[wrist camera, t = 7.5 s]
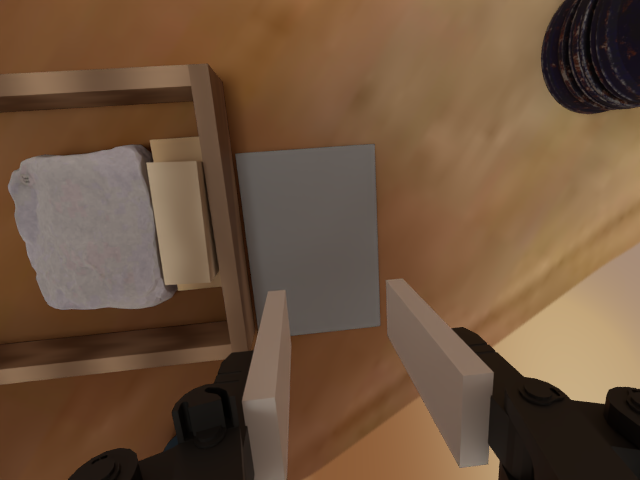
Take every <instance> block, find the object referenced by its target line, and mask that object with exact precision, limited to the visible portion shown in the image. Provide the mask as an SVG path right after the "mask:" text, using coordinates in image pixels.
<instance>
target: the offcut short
mask: <svg viewBox="0 0 640 480" xmlns="http://www.w3.org/2000/svg"><path fill="white" fill-rule="evenodd" d="M146 164H147V170H148V177H149V183H150V190H151V197H152V203H153V210H154V216H155V223H156V230H157V236H158V243H159V249H160V256H161V262H162V269H163V276H164V282H165V285H176V284H193V283H210V282H211V281H212V280H213V279H214V277H215V276H216V275H217V273H218V272H219V264H218V258H217V251H216V245H215V238H214V232H213V225H212V219H211V212H210V206H209V199H208V193H207V186H206V180H205V173H204V167H203V162H200V161H184V162H151V163H146Z"/></svg>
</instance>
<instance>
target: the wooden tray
mask: <svg viewBox="0 0 640 480" xmlns="http://www.w3.org/2000/svg"><path fill="white" fill-rule="evenodd" d="M185 101H193V102H194V108H195V115H196V121H197V128H198V134H199V141H200V147H201V154H202V160H203V167H204V173H205V180H206V186H207V193H208V199H209V206H210V212H211V219H212V225H213V232H214V238H215V245H216V251H217V258H218V264H219V271H220V277H221V284H222V290H223V297H224V303H225V310H226V316H227V321H220V322H211V323H201V324H192V325H182V326H173V327H163V328H154V329H144V330H135V331H125V332H115V333H106V334H96V335H87V336H77V337H68V338H58V339H49V340H39V341H30V342H20V343H11V344H1V345H0V385H1V384H10V383H19V382H28V381H37V380H46V379H55V378H63V377H72V376H81V375H90V374H99V373H108V372H117V371H126V370H134V369H143V368H152V367H161V366H170V365H179V364H188V363H197V362H205V361H214V360H223V359H226V358H227V357H228V356H229V355H230V354H231V353H233V352H242V351H250V350H251V346H252V341H253V337H254V333H255V325H254V318H253V310H252V303H251V295H250V287H249V280H248V272H247V265H246V257H245V250H244V242H243V235H242V227H241V220H240V212H239V204H238V197H237V189H236V182H235V174H234V167H233V159H232V152H231V144H230V136H229V129H228V121H227V114H226V106H225V99H224V91H223V84H222V81H221V80H220V78H219V77H218V76H217V75H216V73H215V72H214V71H213V70H212V68H211V67H210V66H209V65H208V64H192V65H172V66H153V67H134V68H114V69H95V70H76V71H56V72H37V73H18V74H0V112H16V111H33V110H49V109H66V108H83V107H100V106H117V105H134V104H151V103H168V102H185Z"/></svg>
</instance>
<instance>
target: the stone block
mask: <svg viewBox="0 0 640 480" xmlns="http://www.w3.org/2000/svg"><path fill="white" fill-rule="evenodd" d="M151 162H154V161H153V156H152V153H151V152H150V151H148V150H147V149H146V148H145V147H143V146H142V145H126V146H120V147H115V148H113V149H111V150H101V151H99V152H93V153H87V154H78V155H66V156H57V155H41V156H36V157H32V158H29V159H26V160H24V161H22V162H21V165H20V168H19V169H18V170H15V171H13V173H12V176H11V180H10V182H9V185H8V189H9V192H10V194H11V196H12V198H13V200H14V202H15V207H16V210H15V220H16V224H17V227H18V230H19V233H20V235H21V237H22V238H23V240H24V241H25V242H26V249H27V255H28V257H29V259H30V262H31V265H32V267H33V268H34V269H35V271H36V274H37V276H36V280H37V282H38V284H39V287H40V290H41V292H42V294H43V296H44V299H45V301H46V302H47V304H48V305H49V306H53V307H54V308H57V309H61V310H67V309H98V308H105V307H113V308H125V309H139V308H146V307H152V306H156V305H158V304H160V303H162V302H164V301H166V300H168V299H170V298H171V297H172V296H173V295H174V293H175V292H176V291H177V290H178V287H177V284H176V285H165V282H164V276H163V269H162V262H161V256H160V249H159V243H158V236H157V230H156V223H155V216H154V210H153V203H152V197H151V190H150V183H149V177H148V170H147V164H146V163H151Z"/></svg>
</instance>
